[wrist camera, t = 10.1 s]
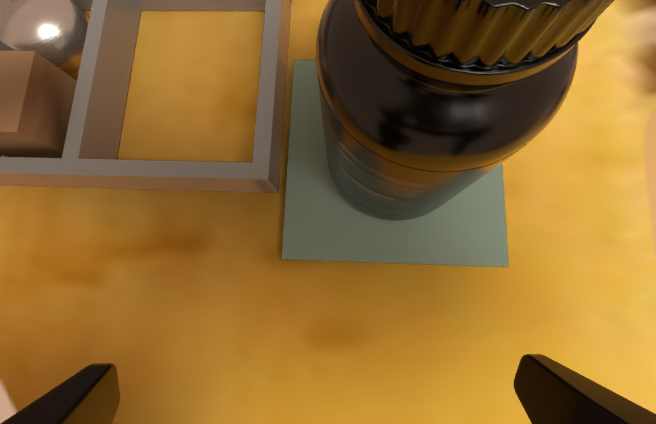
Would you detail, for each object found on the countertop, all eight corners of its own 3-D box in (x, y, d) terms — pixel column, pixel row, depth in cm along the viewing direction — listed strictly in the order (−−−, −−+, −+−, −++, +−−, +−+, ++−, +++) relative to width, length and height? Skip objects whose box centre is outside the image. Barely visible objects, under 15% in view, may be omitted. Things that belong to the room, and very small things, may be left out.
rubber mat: (502, 267, 16) (508, 266, 15) (283, 259, 17) (281, 258, 16) (490, 68, 18) (495, 61, 17) (295, 66, 19) (294, 59, 18)
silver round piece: (101, 81, 19) (57, 46, 16) (36, 80, 19) (-20, 45, 16) (111, 21, 20) (71, -23, 17) (49, 21, 20) (-2, -22, 17)
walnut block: (87, 162, 18) (16, 131, 14) (18, 160, 18) (-69, 130, 14) (98, 97, 19) (35, 50, 15) (33, 96, 19) (-47, 50, 15)
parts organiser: (278, 192, 17) (267, 179, 15) (-20, 184, 18) (-78, 170, 16) (291, -1, 19) (284, -41, 17) (24, -1, 20) (-19, -39, 18)
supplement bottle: (486, 181, 16) (869, -59, 4) (369, 247, 16) (452, 176, 4) (413, 75, 18) (563, -331, 6) (303, 134, 17) (221, -170, 5)
